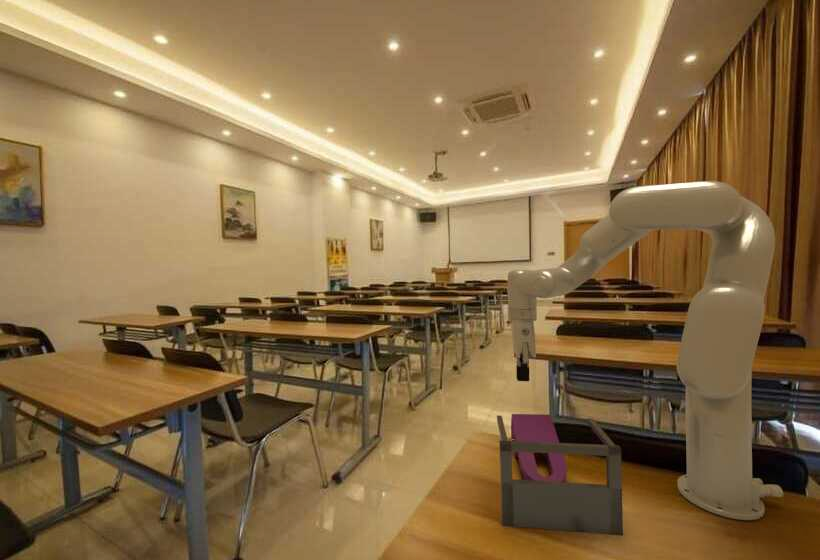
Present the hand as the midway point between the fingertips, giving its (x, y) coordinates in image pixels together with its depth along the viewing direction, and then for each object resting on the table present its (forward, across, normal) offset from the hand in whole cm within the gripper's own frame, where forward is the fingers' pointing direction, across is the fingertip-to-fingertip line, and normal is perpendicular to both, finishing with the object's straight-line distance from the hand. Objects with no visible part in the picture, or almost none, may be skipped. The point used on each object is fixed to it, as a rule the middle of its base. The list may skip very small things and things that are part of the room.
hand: (522, 380), depth 96 cm
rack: (+15, -31, -1) cm, 34 cm away
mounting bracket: (+15, -17, -1) cm, 23 cm away
